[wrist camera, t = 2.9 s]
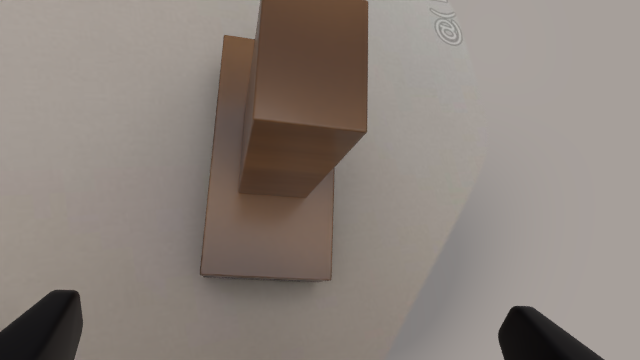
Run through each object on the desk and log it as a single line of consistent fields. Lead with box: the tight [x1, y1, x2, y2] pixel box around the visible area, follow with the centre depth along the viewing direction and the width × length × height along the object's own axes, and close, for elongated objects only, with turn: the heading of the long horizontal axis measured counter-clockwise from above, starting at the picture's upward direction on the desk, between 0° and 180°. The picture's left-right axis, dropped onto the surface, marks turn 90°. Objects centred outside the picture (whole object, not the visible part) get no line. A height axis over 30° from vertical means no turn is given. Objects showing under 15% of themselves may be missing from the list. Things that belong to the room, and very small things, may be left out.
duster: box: [200, 0, 368, 282], centre depth 17 cm, size 11×6×12 cm, turn 178°
